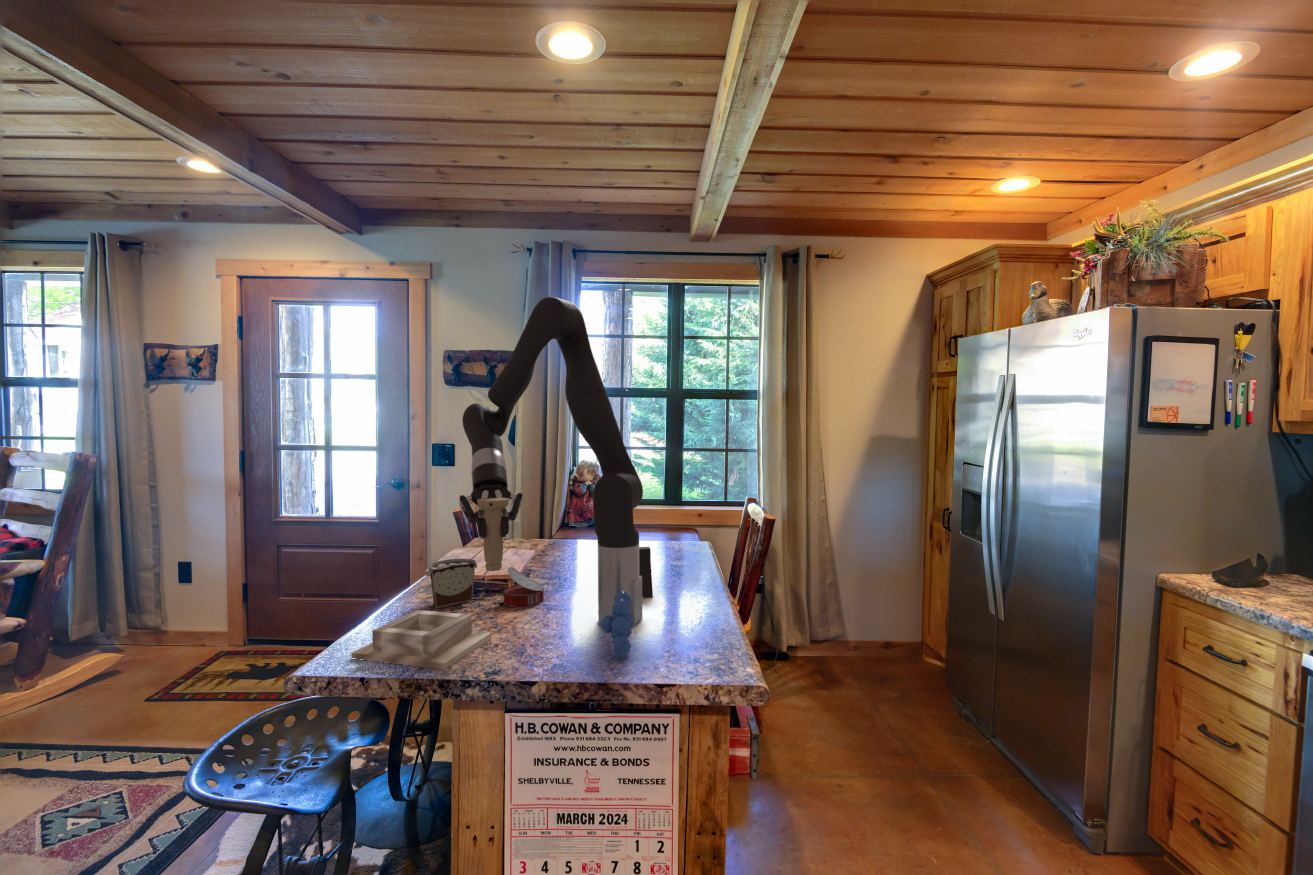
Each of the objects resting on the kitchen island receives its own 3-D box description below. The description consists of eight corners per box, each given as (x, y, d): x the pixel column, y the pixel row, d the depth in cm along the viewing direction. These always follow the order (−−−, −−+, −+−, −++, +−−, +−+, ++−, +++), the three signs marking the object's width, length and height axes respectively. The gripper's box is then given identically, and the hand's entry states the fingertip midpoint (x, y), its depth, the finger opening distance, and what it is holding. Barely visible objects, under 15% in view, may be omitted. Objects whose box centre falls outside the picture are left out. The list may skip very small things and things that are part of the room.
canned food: (520, 613, 155) (530, 575, 159) (548, 616, 149) (558, 576, 153) (487, 602, 147) (499, 562, 151) (515, 605, 141) (526, 563, 145)
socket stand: (491, 638, 123) (490, 613, 123) (444, 669, 108) (444, 640, 108) (407, 630, 128) (407, 606, 128) (351, 659, 113) (350, 631, 113)
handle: (507, 572, 125) (506, 500, 124) (475, 573, 124) (475, 501, 124) (510, 566, 130) (510, 497, 129) (480, 567, 129) (479, 498, 129)
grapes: (603, 643, 120) (602, 584, 120) (636, 643, 120) (636, 584, 120) (595, 667, 108) (595, 601, 108) (633, 667, 108) (632, 601, 108)
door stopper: (652, 597, 152) (652, 550, 152) (629, 599, 151) (628, 551, 151) (647, 588, 161) (647, 543, 160) (625, 589, 160) (624, 544, 159)
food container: (466, 594, 156) (465, 555, 156) (477, 598, 152) (477, 559, 152) (419, 604, 147) (418, 563, 147) (430, 609, 143) (429, 567, 143)
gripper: (456, 462, 131) (458, 527, 120) (522, 460, 136) (530, 523, 125) (456, 484, 136) (458, 548, 125) (519, 482, 141) (527, 543, 130)
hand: (494, 535), depth 125 cm, fingers closed on handle, 3 cm apart
